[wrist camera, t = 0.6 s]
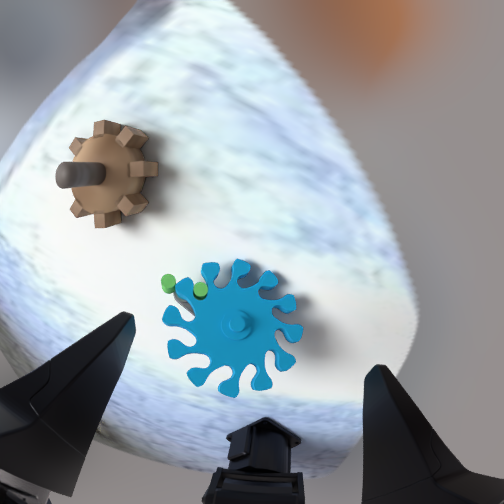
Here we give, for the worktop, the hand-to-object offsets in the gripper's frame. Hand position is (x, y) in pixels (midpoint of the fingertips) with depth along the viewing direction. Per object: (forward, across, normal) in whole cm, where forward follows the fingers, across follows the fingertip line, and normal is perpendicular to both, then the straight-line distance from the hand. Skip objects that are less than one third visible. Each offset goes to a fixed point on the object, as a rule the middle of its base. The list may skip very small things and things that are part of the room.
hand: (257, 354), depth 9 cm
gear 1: (+14, +14, 0) cm, 19 cm away
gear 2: (+11, +1, +8) cm, 14 cm away
